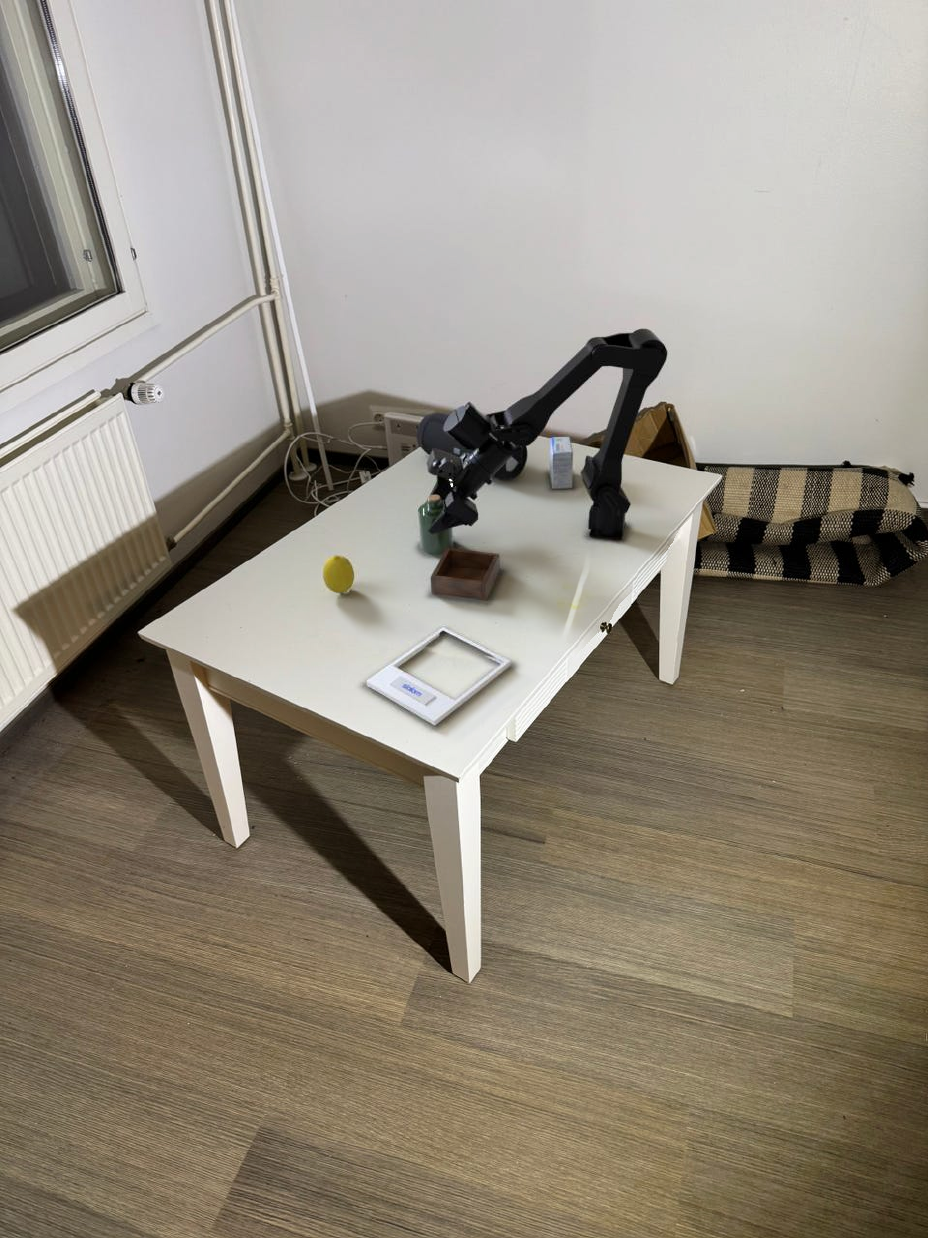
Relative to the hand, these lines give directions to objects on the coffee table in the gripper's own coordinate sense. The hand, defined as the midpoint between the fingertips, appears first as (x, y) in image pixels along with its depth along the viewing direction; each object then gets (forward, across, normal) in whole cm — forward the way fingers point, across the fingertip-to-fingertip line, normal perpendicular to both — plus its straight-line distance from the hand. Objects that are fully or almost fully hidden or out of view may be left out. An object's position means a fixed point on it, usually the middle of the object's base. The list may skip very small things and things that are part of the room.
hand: (427, 520), depth 167 cm
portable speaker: (-4, -33, +14) cm, 36 cm away
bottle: (+3, 0, +6) cm, 6 cm away
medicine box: (-17, -23, +26) cm, 39 cm away
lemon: (+17, +12, -8) cm, 22 cm away
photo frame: (+6, +39, +3) cm, 39 cm away
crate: (0, +13, +8) cm, 16 cm away
